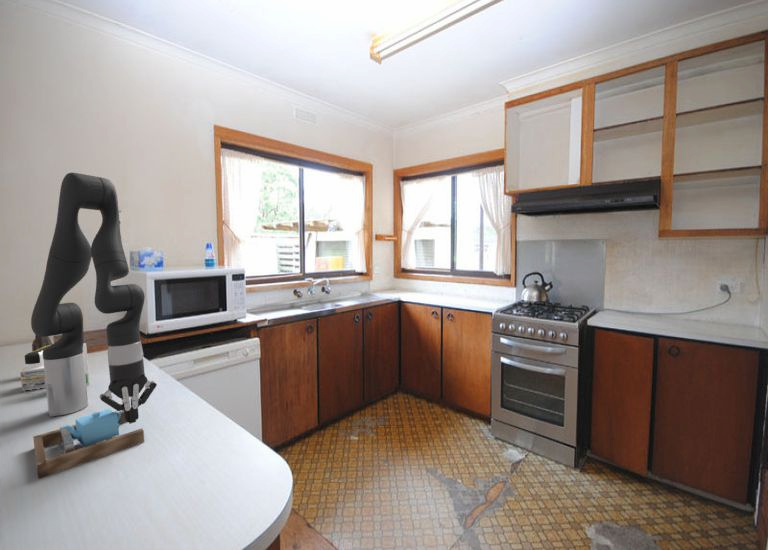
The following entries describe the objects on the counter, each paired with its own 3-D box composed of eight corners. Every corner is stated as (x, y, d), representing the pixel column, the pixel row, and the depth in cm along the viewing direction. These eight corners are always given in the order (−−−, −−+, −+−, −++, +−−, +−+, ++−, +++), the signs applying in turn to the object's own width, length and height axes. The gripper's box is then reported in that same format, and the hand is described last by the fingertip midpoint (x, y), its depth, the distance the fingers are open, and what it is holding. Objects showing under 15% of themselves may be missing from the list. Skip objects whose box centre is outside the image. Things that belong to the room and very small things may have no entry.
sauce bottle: (41, 377, 142) (36, 328, 140) (29, 376, 143) (24, 327, 141) (59, 371, 148) (54, 324, 146) (47, 371, 149) (42, 324, 148)
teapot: (66, 457, 85) (63, 427, 84) (60, 449, 89) (57, 420, 88) (126, 435, 94) (123, 408, 94) (118, 429, 98) (115, 402, 98)
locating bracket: (38, 478, 77) (36, 465, 77) (34, 448, 90) (33, 436, 89) (144, 441, 91) (143, 430, 91) (128, 419, 104) (127, 409, 103)
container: (21, 392, 127) (17, 356, 126) (30, 384, 134) (27, 351, 133) (50, 387, 131) (46, 352, 130) (57, 380, 137) (54, 347, 136)
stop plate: (66, 462, 82) (65, 446, 82) (61, 442, 91) (59, 427, 91) (75, 459, 84) (73, 443, 83) (69, 440, 92) (67, 425, 92)
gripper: (151, 351, 103) (156, 409, 104) (92, 363, 93) (98, 427, 94) (158, 356, 97) (163, 417, 99) (97, 369, 88) (104, 436, 89)
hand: (132, 422), depth 97 cm, fingers closed
